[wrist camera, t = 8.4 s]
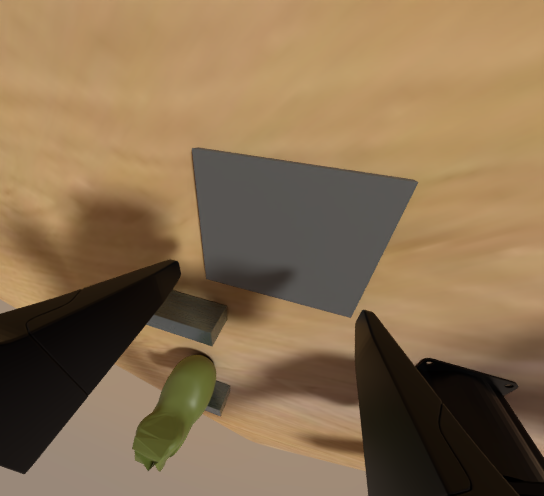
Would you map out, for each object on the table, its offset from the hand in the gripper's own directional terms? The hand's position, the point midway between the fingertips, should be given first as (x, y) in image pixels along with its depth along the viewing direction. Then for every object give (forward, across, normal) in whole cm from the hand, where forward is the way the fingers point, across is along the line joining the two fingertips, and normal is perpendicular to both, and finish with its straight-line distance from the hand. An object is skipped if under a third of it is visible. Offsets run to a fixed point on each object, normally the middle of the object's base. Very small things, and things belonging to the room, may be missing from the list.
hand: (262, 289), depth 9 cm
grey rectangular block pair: (+5, +8, +18) cm, 20 cm away
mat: (+5, 0, 0) cm, 5 cm away
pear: (+5, +8, +20) cm, 22 cm away
